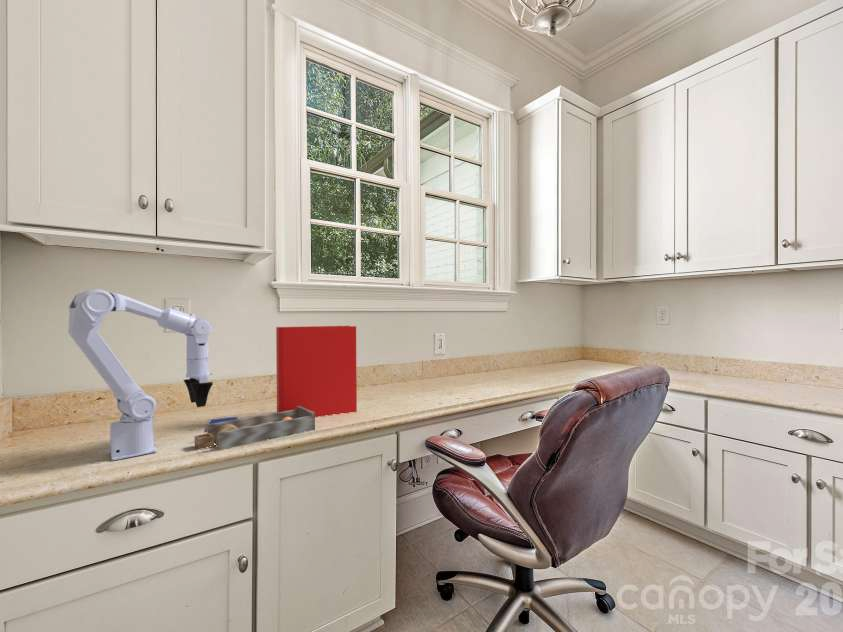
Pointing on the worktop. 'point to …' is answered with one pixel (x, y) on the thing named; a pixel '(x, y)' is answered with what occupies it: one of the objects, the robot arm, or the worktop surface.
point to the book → (316, 369)
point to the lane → (261, 427)
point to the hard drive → (222, 420)
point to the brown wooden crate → (204, 440)
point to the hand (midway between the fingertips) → (198, 404)
